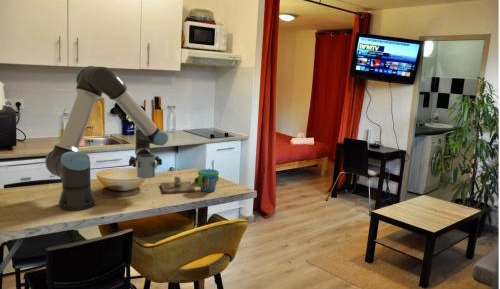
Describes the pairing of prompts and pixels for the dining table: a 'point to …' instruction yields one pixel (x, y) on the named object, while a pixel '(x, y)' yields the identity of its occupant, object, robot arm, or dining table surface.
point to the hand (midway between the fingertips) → (146, 166)
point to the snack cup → (207, 179)
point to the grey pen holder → (146, 166)
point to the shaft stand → (177, 186)
